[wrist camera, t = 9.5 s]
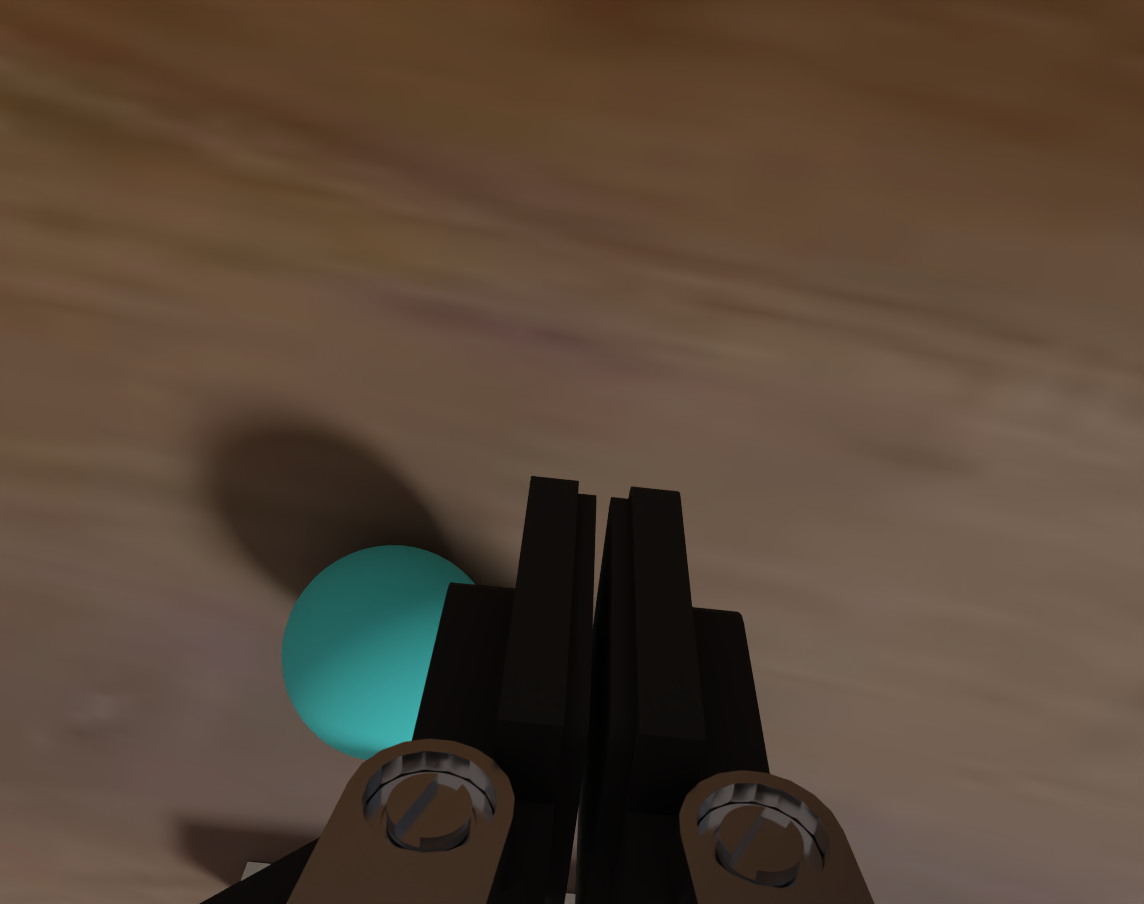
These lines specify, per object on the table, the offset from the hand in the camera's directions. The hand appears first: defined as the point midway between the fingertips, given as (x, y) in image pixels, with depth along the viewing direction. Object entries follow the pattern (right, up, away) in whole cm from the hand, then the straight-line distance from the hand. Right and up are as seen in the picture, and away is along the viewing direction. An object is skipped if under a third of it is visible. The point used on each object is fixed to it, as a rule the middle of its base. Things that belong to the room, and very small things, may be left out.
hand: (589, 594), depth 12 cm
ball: (-5, -4, +18) cm, 19 cm away
